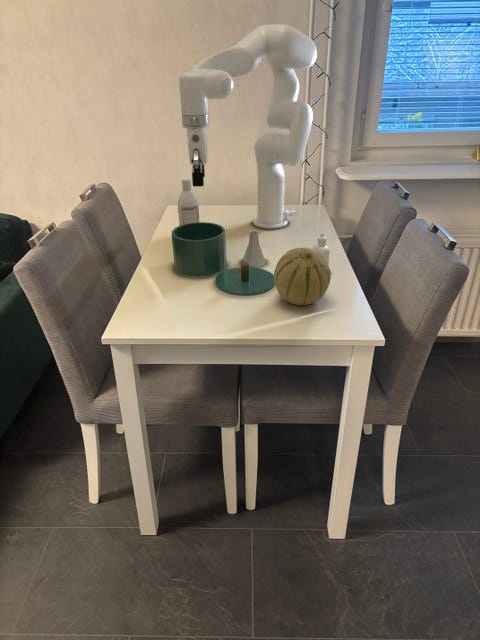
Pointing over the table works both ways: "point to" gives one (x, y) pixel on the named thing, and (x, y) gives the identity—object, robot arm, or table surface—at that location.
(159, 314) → the table surface
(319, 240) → the eye dropper bottle
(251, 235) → the flask
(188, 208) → the bath foam
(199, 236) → the tin
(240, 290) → the tin lid
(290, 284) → the cantaloupe
